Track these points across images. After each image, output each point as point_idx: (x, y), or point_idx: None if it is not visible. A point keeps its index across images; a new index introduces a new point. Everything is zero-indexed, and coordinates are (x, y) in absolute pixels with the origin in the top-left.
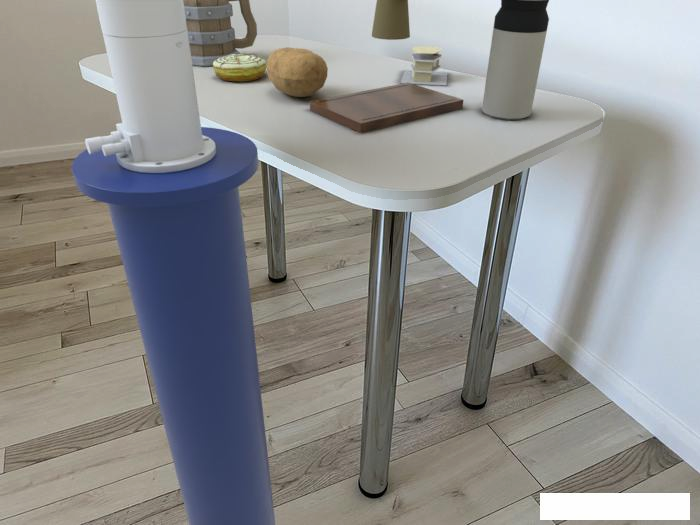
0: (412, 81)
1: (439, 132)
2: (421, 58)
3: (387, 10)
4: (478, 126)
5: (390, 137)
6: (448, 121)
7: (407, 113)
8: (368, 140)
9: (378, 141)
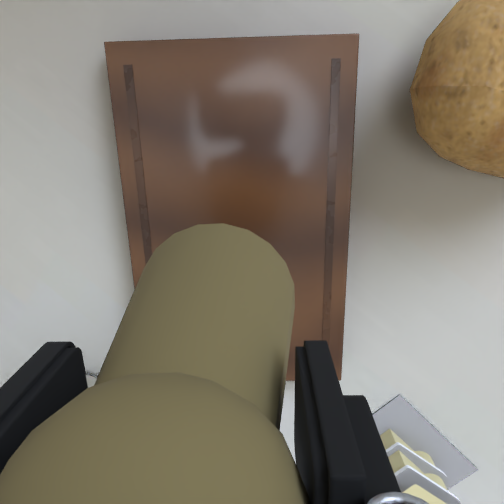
0: (391, 425)
1: (38, 216)
2: (404, 490)
3: (148, 292)
4: (36, 311)
5: (56, 95)
6: (92, 284)
7: (124, 206)
8: (60, 31)
9: (43, 49)
